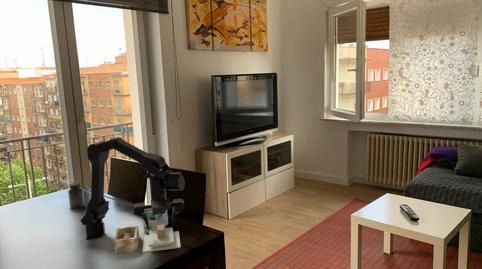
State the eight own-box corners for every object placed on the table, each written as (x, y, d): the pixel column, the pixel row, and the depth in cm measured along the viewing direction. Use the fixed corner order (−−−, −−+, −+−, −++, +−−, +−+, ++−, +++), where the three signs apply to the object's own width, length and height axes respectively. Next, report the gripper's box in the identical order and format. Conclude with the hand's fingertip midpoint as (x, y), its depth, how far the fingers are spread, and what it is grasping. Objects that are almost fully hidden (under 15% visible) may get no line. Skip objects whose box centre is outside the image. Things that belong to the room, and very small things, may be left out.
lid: (149, 250, 137) (147, 235, 136) (150, 235, 150) (148, 222, 149) (174, 246, 139) (173, 232, 138) (172, 232, 152) (171, 219, 151)
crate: (115, 253, 136) (113, 241, 136) (118, 239, 148) (117, 227, 147) (137, 250, 138) (136, 238, 137) (139, 236, 150) (138, 225, 149)
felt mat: (142, 252, 137) (142, 251, 136) (144, 236, 150) (144, 235, 150) (180, 247, 139) (180, 246, 139) (178, 232, 153) (178, 231, 153)
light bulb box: (158, 233, 152) (156, 209, 150) (143, 233, 153) (141, 208, 151) (168, 223, 162) (167, 200, 160) (154, 222, 164) (152, 199, 162)
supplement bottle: (77, 203, 192) (74, 181, 190) (87, 204, 189) (85, 182, 187) (67, 208, 185) (64, 185, 183) (77, 209, 183) (75, 186, 181)
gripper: (131, 198, 131) (134, 239, 134) (183, 193, 135) (186, 233, 138) (133, 189, 142) (136, 227, 145) (181, 184, 146) (184, 221, 148)
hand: (160, 227), depth 144 cm, fingers open, 9 cm apart
